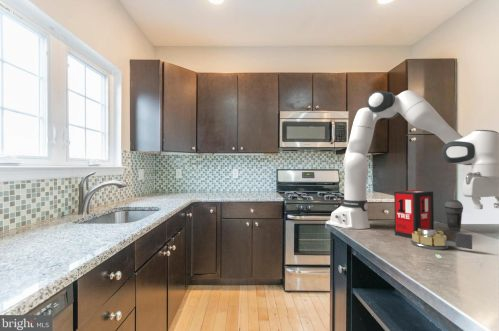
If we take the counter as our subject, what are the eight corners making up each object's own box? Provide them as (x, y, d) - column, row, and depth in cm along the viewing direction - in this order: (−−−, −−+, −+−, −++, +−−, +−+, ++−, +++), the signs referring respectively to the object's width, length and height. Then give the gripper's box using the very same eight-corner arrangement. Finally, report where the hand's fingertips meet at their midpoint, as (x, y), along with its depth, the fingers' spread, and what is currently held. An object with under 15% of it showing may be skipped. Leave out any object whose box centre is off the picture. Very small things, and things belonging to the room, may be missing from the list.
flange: (406, 244, 102) (406, 229, 102) (416, 239, 109) (416, 225, 110) (443, 252, 93) (443, 235, 93) (451, 245, 100) (451, 230, 100)
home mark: (435, 254, 89) (435, 254, 89) (439, 255, 89) (439, 254, 89) (438, 258, 86) (438, 257, 86) (442, 258, 85) (442, 258, 85)
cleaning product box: (415, 239, 109) (414, 193, 110) (394, 235, 117) (394, 191, 117) (433, 234, 118) (433, 191, 118) (413, 230, 126) (412, 190, 126)
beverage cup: (458, 229, 127) (457, 189, 127) (467, 233, 120) (466, 191, 120) (441, 229, 129) (441, 189, 129) (449, 232, 121) (448, 190, 122)
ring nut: (409, 241, 101) (409, 229, 101) (416, 236, 109) (416, 225, 109) (471, 252, 88) (470, 237, 88) (473, 245, 96) (473, 232, 96)
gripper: (475, 172, 91) (476, 211, 90) (517, 171, 95) (518, 208, 95) (457, 172, 97) (458, 208, 97) (497, 171, 102) (498, 206, 101)
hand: (488, 208), depth 96 cm, fingers open, 8 cm apart
